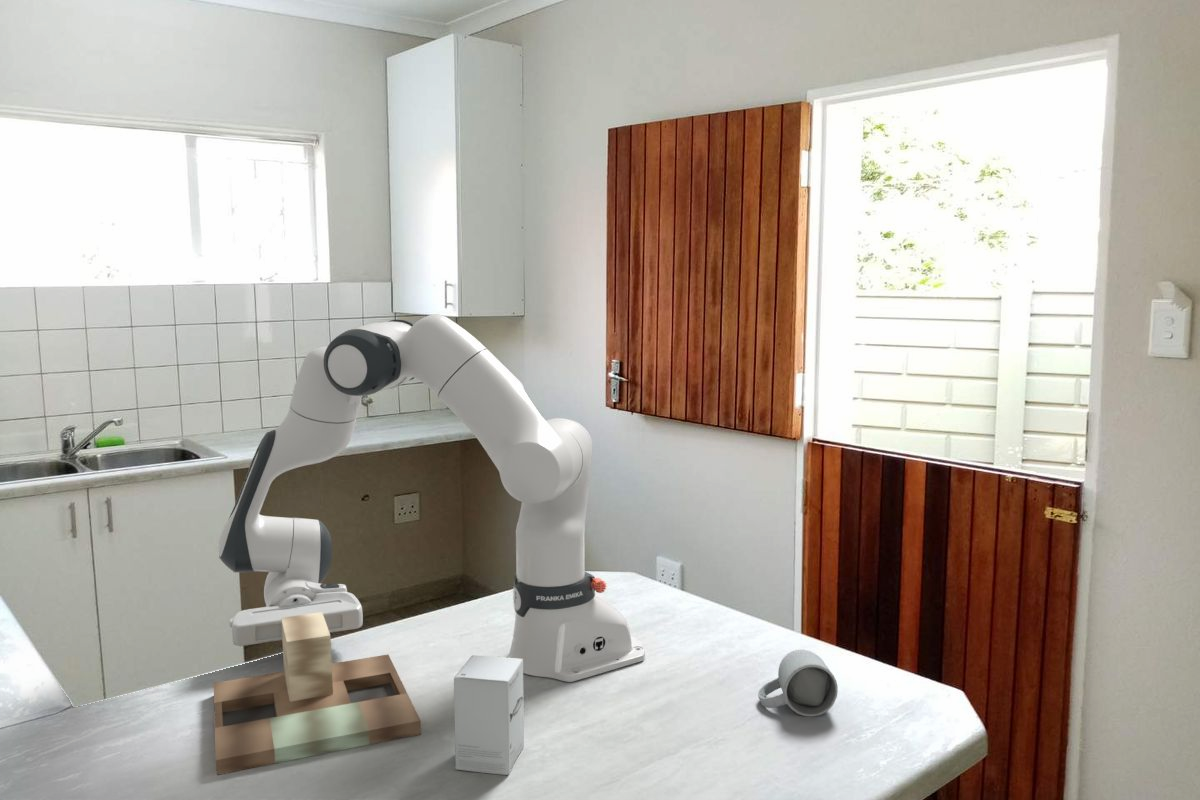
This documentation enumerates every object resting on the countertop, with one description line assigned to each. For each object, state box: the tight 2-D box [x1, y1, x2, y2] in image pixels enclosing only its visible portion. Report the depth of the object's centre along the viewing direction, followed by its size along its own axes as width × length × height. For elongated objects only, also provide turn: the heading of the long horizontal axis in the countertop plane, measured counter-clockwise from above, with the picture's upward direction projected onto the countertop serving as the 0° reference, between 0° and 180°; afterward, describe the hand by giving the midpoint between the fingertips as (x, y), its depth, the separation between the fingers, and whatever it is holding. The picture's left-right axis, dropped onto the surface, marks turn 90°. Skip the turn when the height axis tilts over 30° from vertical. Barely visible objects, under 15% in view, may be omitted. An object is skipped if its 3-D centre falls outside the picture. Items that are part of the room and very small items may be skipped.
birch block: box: [281, 612, 333, 702], centre depth 137 cm, size 6×10×9 cm, turn 23°
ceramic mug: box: [757, 649, 839, 718], centre depth 135 cm, size 11×8×8 cm
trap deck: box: [213, 654, 422, 776], centre depth 133 cm, size 26×24×2 cm
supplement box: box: [453, 654, 525, 776], centre depth 120 cm, size 7×7×13 cm
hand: (302, 637), depth 144 cm, fingers closed
